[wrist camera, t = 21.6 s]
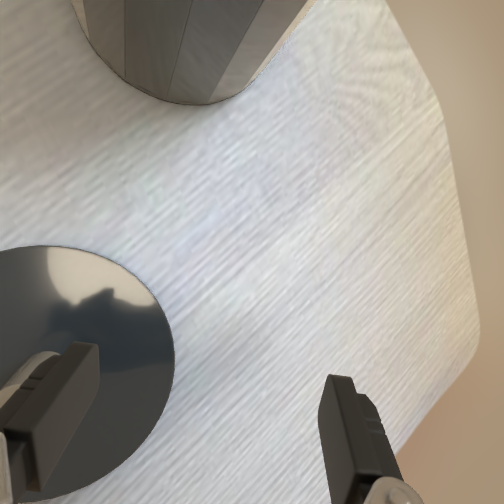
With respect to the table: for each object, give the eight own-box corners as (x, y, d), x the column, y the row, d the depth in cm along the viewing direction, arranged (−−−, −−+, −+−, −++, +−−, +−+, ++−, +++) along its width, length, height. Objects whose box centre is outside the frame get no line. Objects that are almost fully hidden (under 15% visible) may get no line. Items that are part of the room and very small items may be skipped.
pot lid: (167, 241, 22) (182, 239, 16) (177, 456, 23) (195, 529, 17) (-113, 250, 18) (-230, 251, 12) (-96, 520, 18) (-203, 651, 12)
